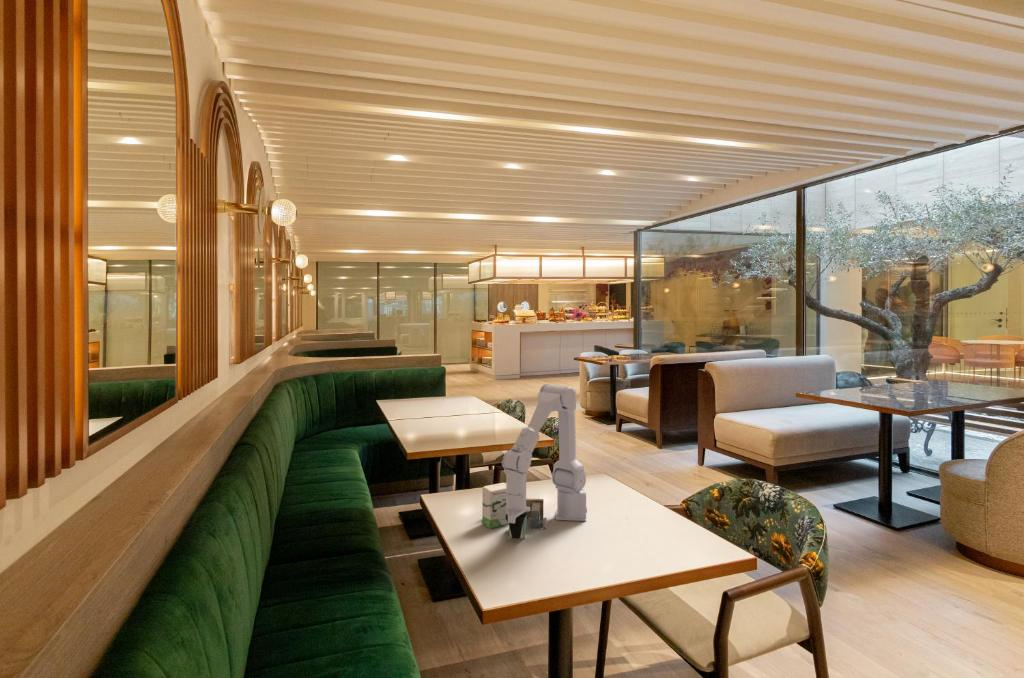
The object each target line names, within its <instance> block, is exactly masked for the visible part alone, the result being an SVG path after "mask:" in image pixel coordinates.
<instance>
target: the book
mask: <svg viewBox="0 0 1024 678" xmlns="http://www.w3.org/2000/svg"><path fill="white" fill-rule="evenodd" d="M526 512H527V511H526ZM527 519H528V518H527V515H526V517H525V519H524V522H523V526H522V531H521V536H520V538H525V537H526V532H527V525H528V524H527V521H528V520H527ZM511 538H512V535H511V531H510V527H509V526H508V539H511Z"/></svg>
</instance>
